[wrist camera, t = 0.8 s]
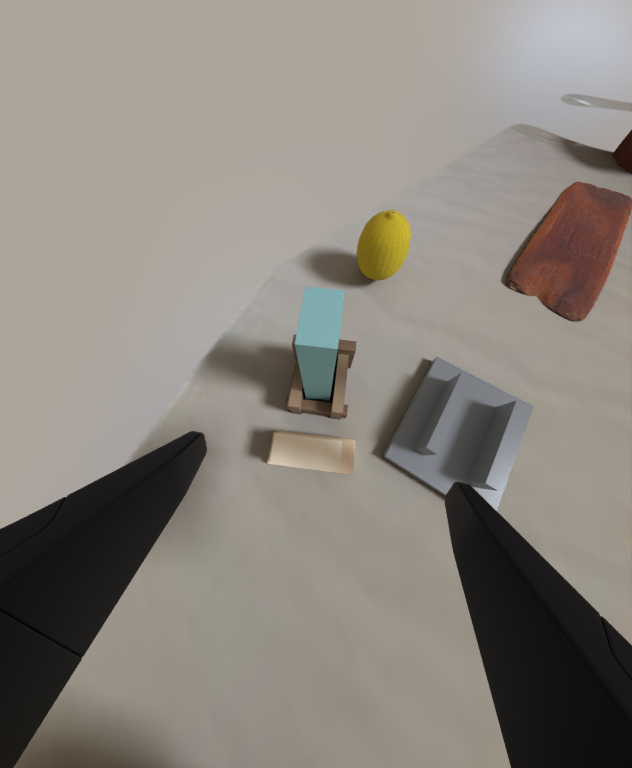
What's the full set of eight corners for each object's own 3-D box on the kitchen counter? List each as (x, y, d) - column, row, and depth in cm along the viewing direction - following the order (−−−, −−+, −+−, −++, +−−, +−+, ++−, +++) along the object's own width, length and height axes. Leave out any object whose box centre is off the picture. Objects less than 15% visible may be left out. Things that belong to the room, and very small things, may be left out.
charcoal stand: (484, 521, 20) (516, 532, 17) (382, 456, 22) (393, 455, 19) (524, 408, 23) (558, 399, 20) (432, 360, 25) (449, 345, 22)
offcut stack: (351, 474, 22) (356, 476, 19) (269, 463, 22) (261, 463, 20) (353, 442, 23) (358, 439, 20) (274, 432, 23) (268, 428, 21)
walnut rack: (345, 420, 23) (349, 411, 20) (286, 412, 24) (280, 402, 20) (350, 358, 26) (356, 339, 22) (297, 351, 26) (294, 332, 22)
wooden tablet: (576, 330, 27) (592, 322, 26) (496, 288, 29) (506, 278, 28) (637, 206, 34) (653, 194, 32) (568, 179, 36) (580, 166, 34)
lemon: (344, 280, 29) (352, 216, 22) (367, 253, 31) (383, 185, 23) (381, 301, 28) (404, 241, 21) (404, 273, 30) (433, 207, 22)
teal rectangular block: (329, 403, 24) (337, 349, 13) (306, 400, 24) (294, 344, 13) (333, 368, 25) (344, 290, 14) (311, 365, 25) (305, 286, 14)
